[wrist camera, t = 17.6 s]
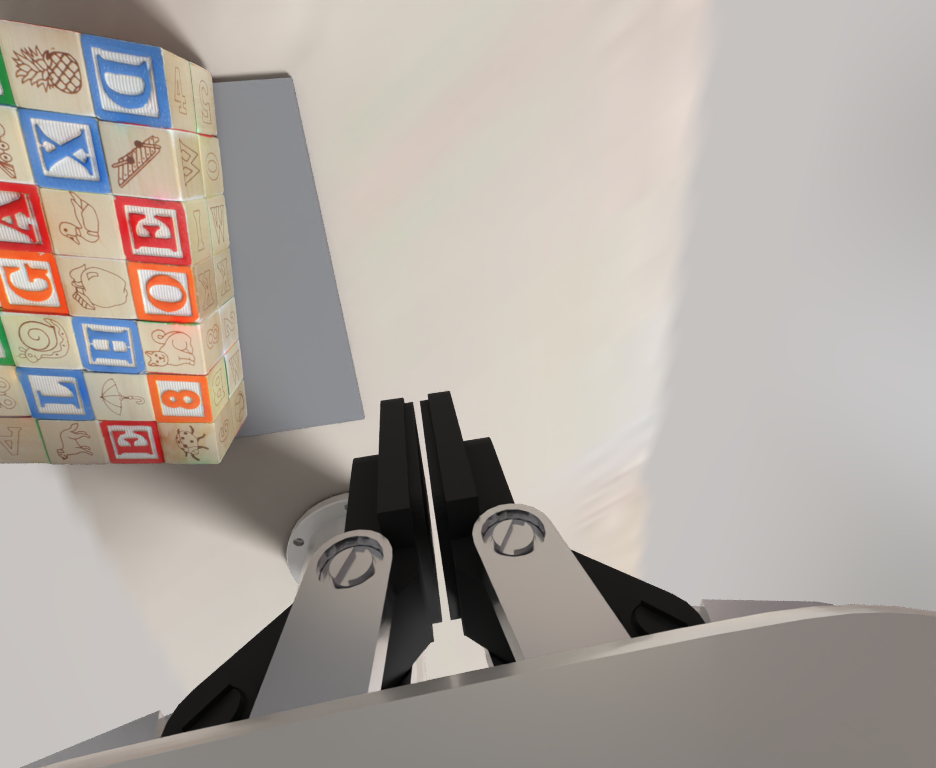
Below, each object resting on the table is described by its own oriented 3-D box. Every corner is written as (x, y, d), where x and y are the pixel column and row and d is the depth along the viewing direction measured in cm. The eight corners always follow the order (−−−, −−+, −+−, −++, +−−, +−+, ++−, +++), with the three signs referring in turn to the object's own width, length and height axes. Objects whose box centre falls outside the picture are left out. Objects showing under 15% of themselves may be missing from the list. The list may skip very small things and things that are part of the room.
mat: (364, 416, 35) (364, 419, 35) (146, 448, 34) (143, 452, 33) (292, 78, 26) (291, 77, 25) (-21, 101, 24) (-27, 100, 24)
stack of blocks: (216, 71, 25) (-58, 27, 22) (164, 44, 19) (-208, -18, 17) (248, 417, 33) (55, 411, 31) (219, 468, 28) (-19, 465, 26)
